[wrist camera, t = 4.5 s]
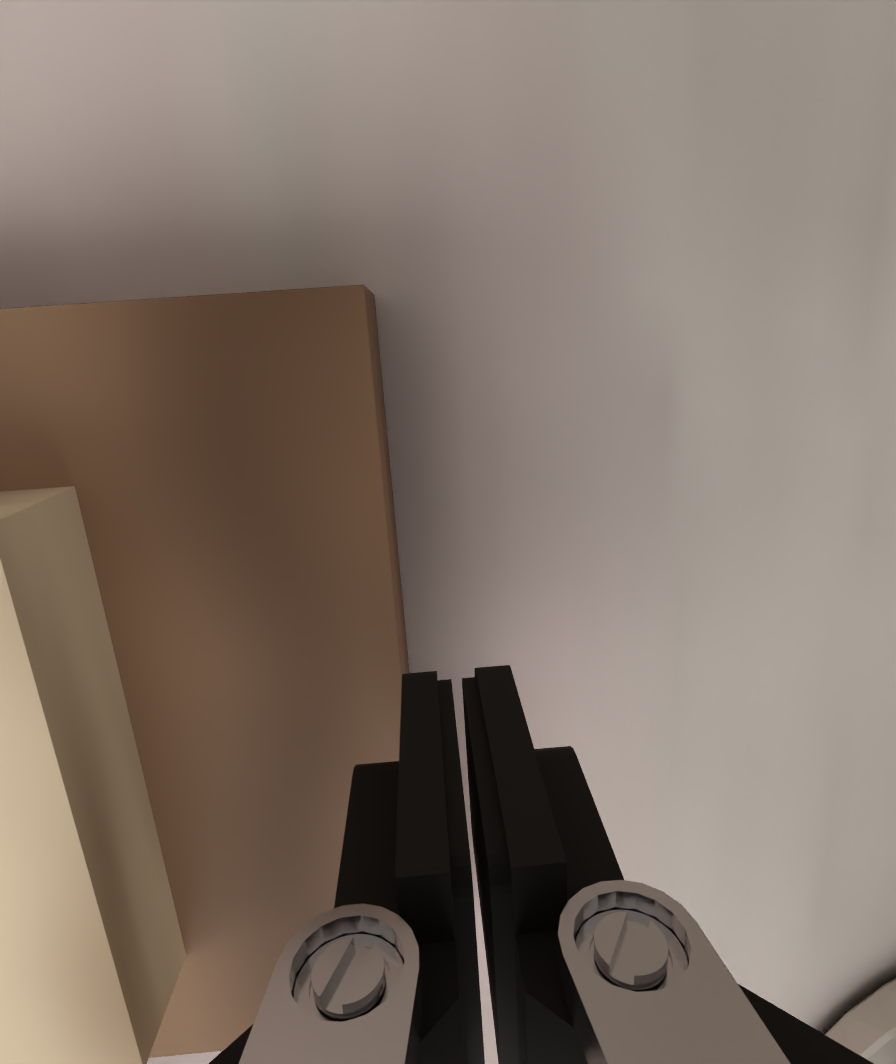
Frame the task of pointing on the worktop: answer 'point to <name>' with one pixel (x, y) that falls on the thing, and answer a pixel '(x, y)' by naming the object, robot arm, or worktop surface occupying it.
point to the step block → (229, 590)
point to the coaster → (72, 812)
